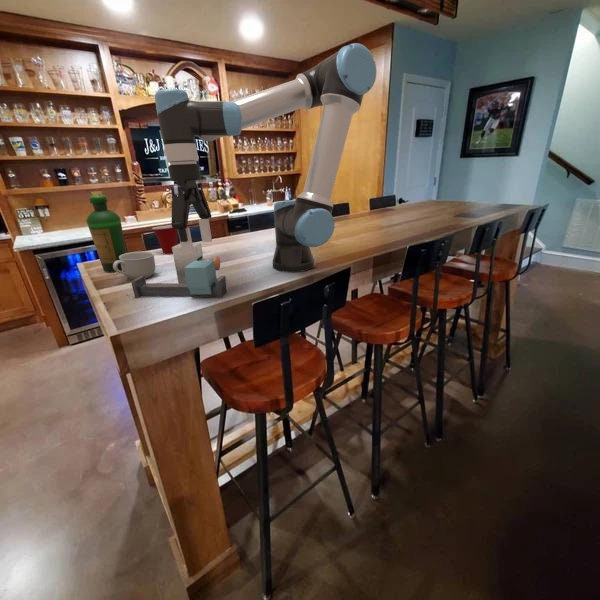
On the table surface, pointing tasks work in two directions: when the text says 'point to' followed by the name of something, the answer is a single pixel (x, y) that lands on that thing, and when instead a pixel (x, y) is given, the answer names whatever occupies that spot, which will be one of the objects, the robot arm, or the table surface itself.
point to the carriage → (200, 276)
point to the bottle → (106, 232)
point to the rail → (174, 289)
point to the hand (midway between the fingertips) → (198, 247)
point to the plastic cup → (166, 238)
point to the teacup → (136, 264)
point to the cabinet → (185, 259)
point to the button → (216, 261)
